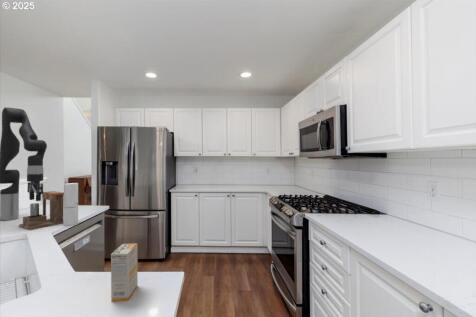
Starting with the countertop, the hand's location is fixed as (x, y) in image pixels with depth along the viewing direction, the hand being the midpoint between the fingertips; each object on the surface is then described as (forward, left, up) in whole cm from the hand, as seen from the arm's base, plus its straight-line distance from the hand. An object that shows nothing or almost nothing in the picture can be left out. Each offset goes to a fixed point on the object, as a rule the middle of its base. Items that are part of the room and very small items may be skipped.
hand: (35, 200), depth 144 cm
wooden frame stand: (0, +4, -16) cm, 16 cm away
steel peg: (0, 0, -14) cm, 14 cm away
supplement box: (+113, -20, -16) cm, 116 cm away
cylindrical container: (+14, +13, -16) cm, 25 cm away
